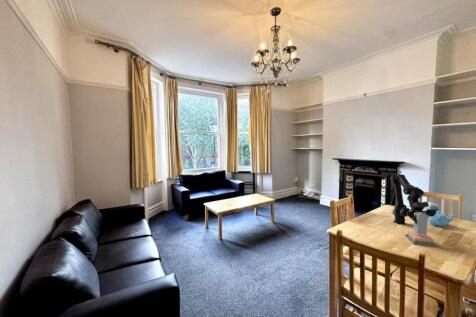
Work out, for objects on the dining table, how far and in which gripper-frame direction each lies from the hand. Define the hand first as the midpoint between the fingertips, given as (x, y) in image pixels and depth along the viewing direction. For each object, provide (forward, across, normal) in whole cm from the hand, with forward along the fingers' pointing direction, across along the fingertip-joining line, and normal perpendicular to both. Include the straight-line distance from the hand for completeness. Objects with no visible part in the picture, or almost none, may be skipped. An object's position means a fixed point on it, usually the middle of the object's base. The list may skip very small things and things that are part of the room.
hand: (421, 223), depth 138 cm
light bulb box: (-34, +32, +52) cm, 70 cm away
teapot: (-16, +27, +34) cm, 47 cm away
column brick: (+4, 0, +6) cm, 7 cm away
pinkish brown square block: (+8, 0, +10) cm, 13 cm away
